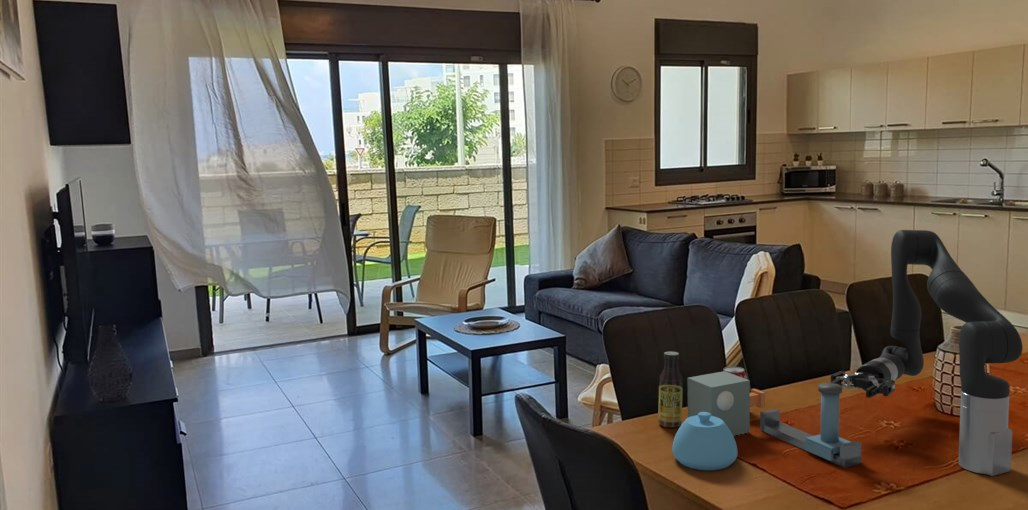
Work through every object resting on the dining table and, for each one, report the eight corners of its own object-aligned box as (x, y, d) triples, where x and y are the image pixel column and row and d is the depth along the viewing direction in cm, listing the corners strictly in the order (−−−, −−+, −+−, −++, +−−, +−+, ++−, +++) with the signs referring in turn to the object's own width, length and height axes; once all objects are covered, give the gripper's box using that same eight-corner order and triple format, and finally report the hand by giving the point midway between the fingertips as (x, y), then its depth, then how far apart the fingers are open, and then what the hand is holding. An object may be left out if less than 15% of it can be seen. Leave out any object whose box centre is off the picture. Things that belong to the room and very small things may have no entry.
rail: (860, 463, 179) (861, 442, 179) (844, 467, 177) (845, 446, 177) (775, 427, 205) (775, 408, 204) (760, 430, 203) (760, 412, 202)
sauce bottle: (657, 428, 208) (656, 355, 205) (659, 420, 214) (657, 349, 211) (682, 429, 206) (681, 356, 204) (683, 421, 212) (682, 350, 210)
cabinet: (751, 433, 201) (751, 380, 199) (713, 441, 196) (712, 388, 195) (724, 421, 211) (724, 371, 209) (688, 429, 206) (687, 377, 204)
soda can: (744, 406, 223) (744, 365, 221) (749, 414, 216) (749, 372, 214) (719, 406, 223) (718, 365, 222) (723, 414, 216) (723, 372, 215)
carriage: (854, 455, 183) (855, 388, 181) (830, 461, 180) (831, 393, 178) (828, 444, 190) (829, 379, 188) (805, 449, 187) (805, 384, 185)
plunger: (764, 407, 203) (764, 392, 202) (739, 412, 200) (739, 397, 199) (754, 403, 207) (754, 388, 206) (729, 408, 203) (729, 393, 203)
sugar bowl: (660, 454, 190) (659, 408, 188) (712, 444, 195) (712, 400, 193) (695, 477, 176) (695, 428, 174) (750, 466, 181) (750, 417, 179)
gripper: (850, 355, 207) (822, 370, 196) (906, 365, 196) (880, 381, 185) (849, 383, 208) (821, 398, 197) (905, 394, 198) (879, 411, 187)
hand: (850, 390), depth 191 cm, fingers open, 8 cm apart
